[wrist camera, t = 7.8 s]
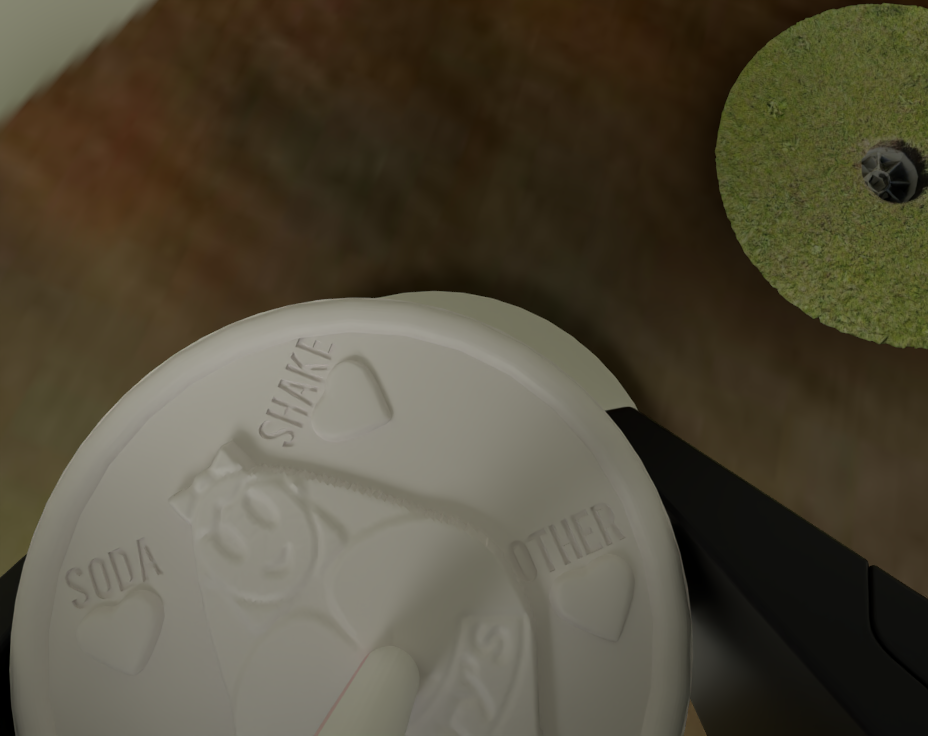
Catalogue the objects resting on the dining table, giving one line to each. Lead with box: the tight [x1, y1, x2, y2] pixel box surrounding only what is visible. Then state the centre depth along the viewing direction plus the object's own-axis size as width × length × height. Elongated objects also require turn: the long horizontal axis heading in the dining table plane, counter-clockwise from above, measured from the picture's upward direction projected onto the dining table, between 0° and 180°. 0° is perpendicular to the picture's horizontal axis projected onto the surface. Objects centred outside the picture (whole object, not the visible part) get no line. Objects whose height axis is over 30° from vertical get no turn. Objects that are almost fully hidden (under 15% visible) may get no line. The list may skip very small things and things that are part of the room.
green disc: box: [715, 3, 928, 349], centre depth 21 cm, size 11×11×2 cm
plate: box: [380, 291, 638, 410], centre depth 20 cm, size 14×14×1 cm
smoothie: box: [9, 298, 693, 736], centre depth 9 cm, size 6×6×14 cm
